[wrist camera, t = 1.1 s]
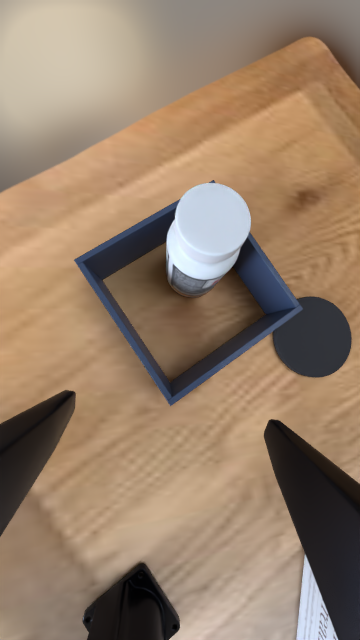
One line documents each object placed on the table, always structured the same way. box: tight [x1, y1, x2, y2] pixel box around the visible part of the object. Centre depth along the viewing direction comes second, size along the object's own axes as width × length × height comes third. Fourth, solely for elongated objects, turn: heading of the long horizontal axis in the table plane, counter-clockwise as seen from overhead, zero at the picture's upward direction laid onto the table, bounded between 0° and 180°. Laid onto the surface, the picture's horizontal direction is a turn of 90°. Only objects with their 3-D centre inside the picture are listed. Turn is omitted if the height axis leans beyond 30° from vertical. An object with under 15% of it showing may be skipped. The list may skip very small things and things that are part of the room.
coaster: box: [273, 297, 351, 377], centre depth 22 cm, size 9×9×1 cm
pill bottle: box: [166, 183, 251, 297], centre depth 16 cm, size 6×6×10 cm
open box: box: [74, 180, 303, 406], centre depth 18 cm, size 14×14×5 cm
